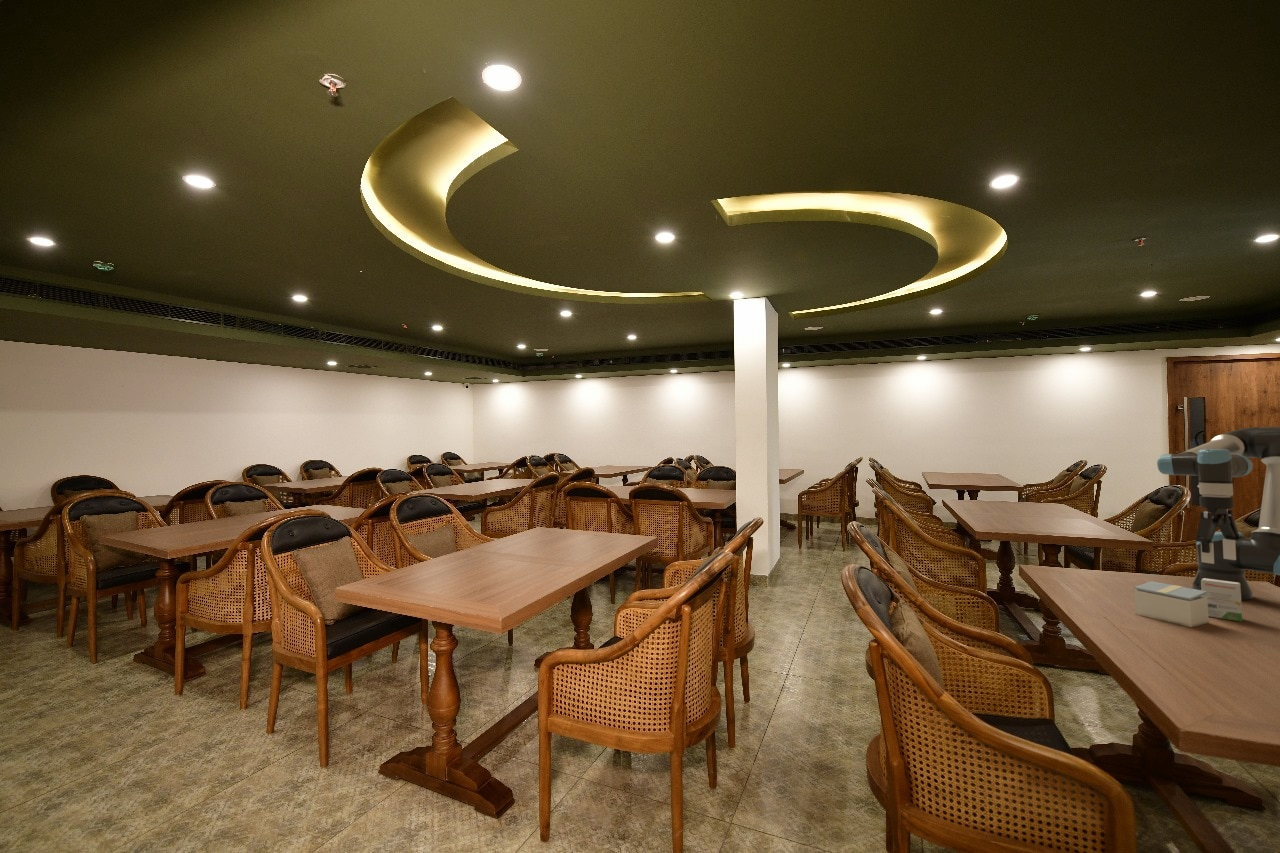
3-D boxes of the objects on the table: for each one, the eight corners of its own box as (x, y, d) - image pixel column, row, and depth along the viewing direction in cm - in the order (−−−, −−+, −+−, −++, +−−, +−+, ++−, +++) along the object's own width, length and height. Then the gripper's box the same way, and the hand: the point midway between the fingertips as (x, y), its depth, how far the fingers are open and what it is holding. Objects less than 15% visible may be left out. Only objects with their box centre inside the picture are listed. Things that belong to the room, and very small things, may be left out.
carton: (1152, 610, 180) (1151, 586, 180) (1208, 622, 167) (1207, 597, 167) (1135, 614, 176) (1134, 589, 176) (1191, 627, 163) (1190, 601, 163)
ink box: (1242, 618, 170) (1240, 582, 170) (1241, 622, 167) (1239, 584, 167) (1204, 612, 177) (1202, 577, 177) (1202, 615, 173) (1200, 579, 174)
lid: (1151, 582, 180) (1150, 580, 180) (1207, 593, 167) (1206, 591, 167) (1134, 588, 176) (1133, 586, 176) (1189, 600, 163) (1189, 598, 163)
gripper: (1220, 493, 181) (1223, 555, 180) (1179, 496, 172) (1182, 561, 171) (1251, 495, 174) (1254, 560, 173) (1211, 498, 165) (1214, 566, 164)
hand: (1219, 561), depth 172 cm, fingers open, 13 cm apart
